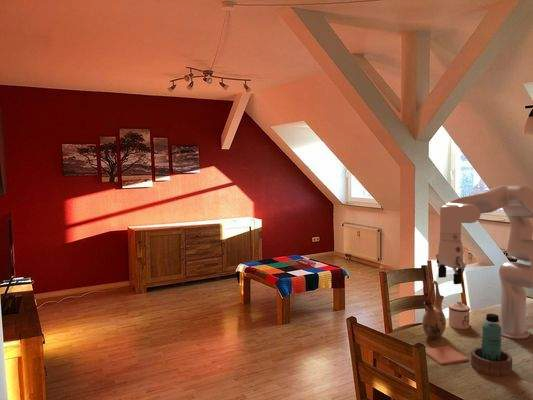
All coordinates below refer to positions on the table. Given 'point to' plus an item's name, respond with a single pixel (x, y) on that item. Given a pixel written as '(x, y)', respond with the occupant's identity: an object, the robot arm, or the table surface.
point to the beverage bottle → (491, 339)
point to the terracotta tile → (445, 355)
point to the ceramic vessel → (434, 314)
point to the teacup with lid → (459, 315)
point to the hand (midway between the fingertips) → (449, 280)
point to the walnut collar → (491, 363)
